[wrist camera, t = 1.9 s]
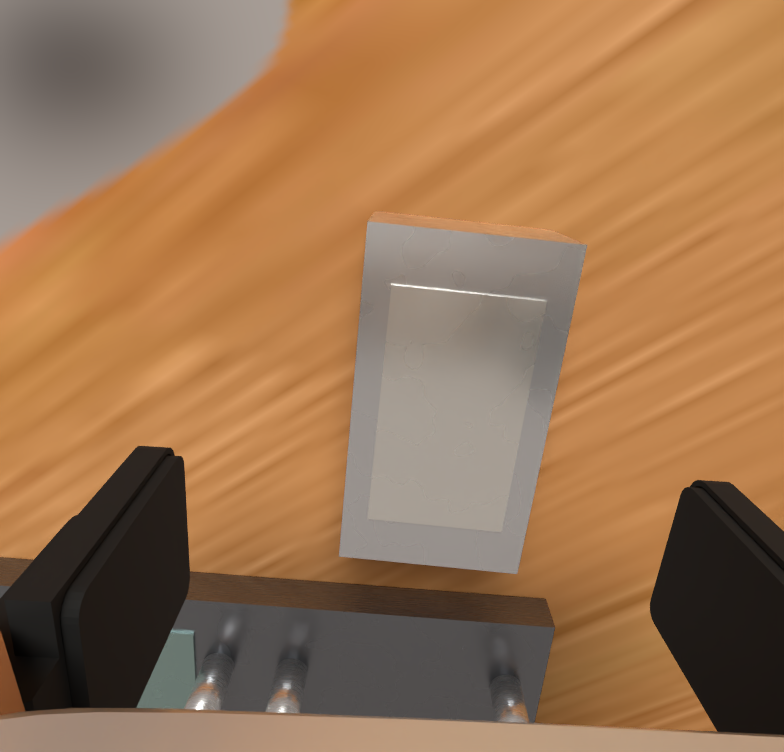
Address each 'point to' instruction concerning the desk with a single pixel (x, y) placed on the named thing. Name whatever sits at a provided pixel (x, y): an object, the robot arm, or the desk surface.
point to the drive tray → (347, 650)
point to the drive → (454, 387)
